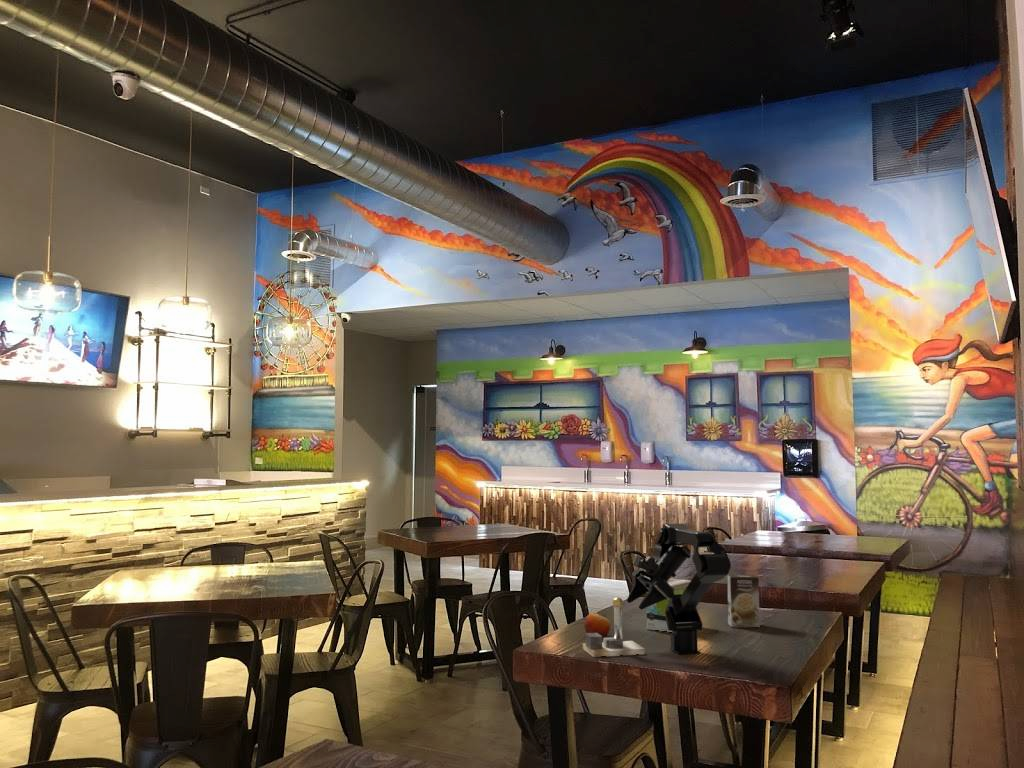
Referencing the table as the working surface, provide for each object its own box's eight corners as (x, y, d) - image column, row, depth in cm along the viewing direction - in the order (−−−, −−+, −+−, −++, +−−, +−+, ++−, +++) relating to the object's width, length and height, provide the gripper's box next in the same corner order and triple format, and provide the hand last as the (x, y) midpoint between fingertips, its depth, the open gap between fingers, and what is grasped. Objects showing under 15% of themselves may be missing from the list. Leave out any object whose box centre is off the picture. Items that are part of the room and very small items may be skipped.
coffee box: (731, 627, 262) (729, 576, 264) (727, 623, 269) (726, 573, 270) (760, 628, 262) (758, 577, 263) (756, 623, 268) (754, 574, 269)
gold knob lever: (621, 643, 234) (620, 596, 235) (625, 646, 231) (624, 598, 232) (602, 645, 233) (601, 597, 234) (606, 647, 230) (605, 598, 231)
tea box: (674, 633, 254) (673, 585, 255) (645, 629, 260) (645, 582, 261) (695, 625, 266) (694, 579, 267) (667, 621, 272) (666, 576, 273)
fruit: (574, 630, 252) (586, 607, 254) (594, 642, 254) (606, 619, 256) (585, 636, 245) (598, 611, 247) (606, 648, 247) (618, 623, 249)
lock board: (632, 645, 238) (632, 628, 239) (644, 654, 228) (644, 636, 229) (582, 648, 235) (582, 631, 235) (593, 657, 225) (593, 639, 226)
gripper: (637, 541, 246) (603, 580, 243) (662, 549, 228) (626, 592, 225) (662, 566, 247) (629, 605, 244) (689, 576, 229) (653, 619, 226)
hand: (633, 605), depth 235 cm, fingers open, 9 cm apart
